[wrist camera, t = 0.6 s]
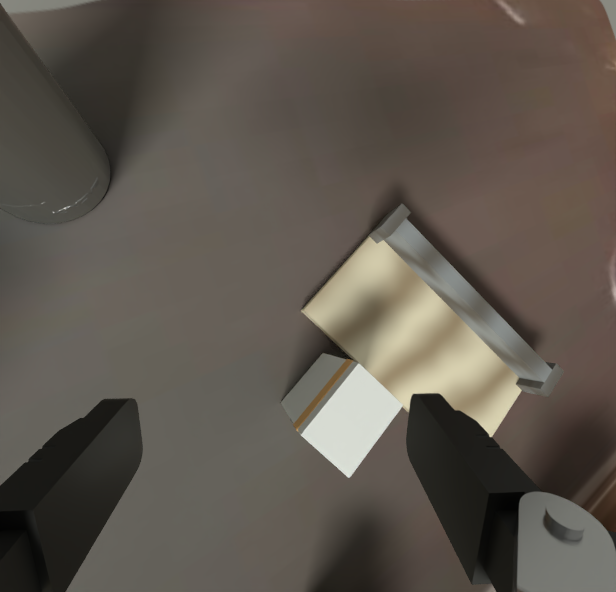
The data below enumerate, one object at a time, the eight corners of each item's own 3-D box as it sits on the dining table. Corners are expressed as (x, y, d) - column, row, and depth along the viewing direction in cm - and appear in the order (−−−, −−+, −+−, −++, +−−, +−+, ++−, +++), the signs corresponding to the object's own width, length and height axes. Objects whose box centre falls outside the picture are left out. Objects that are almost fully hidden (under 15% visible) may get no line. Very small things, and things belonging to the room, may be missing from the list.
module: (277, 405, 29) (297, 438, 20) (322, 352, 30) (358, 361, 22) (313, 436, 30) (346, 482, 21) (355, 383, 31) (404, 404, 22)
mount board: (299, 309, 30) (309, 306, 26) (387, 212, 33) (407, 196, 30) (464, 465, 33) (495, 483, 29) (531, 360, 36) (568, 364, 32)
